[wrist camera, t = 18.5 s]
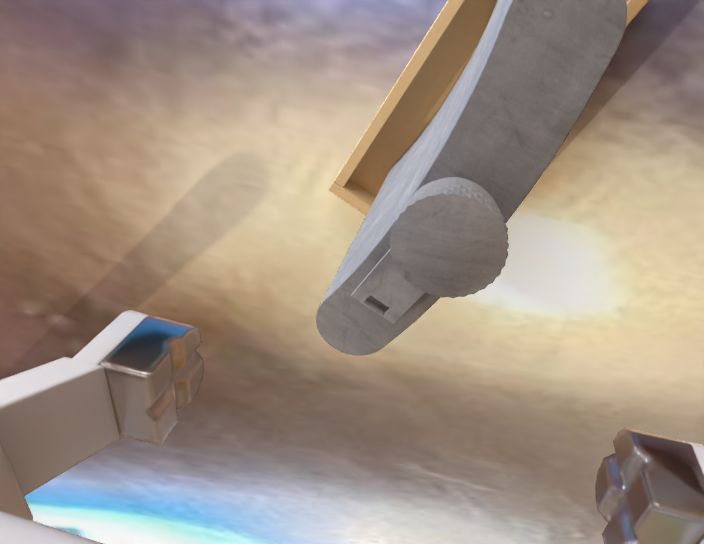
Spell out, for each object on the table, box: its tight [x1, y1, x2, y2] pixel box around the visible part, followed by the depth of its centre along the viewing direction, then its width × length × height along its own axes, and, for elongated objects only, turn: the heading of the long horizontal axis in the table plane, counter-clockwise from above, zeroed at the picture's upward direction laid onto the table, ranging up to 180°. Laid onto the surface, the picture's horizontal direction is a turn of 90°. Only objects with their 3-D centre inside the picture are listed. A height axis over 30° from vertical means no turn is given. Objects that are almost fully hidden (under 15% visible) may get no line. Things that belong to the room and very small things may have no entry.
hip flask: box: [316, 0, 627, 355], centre depth 24 cm, size 16×4×20 cm, turn 152°
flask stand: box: [329, 0, 649, 216], centre depth 31 cm, size 20×9×2 cm, turn 149°
